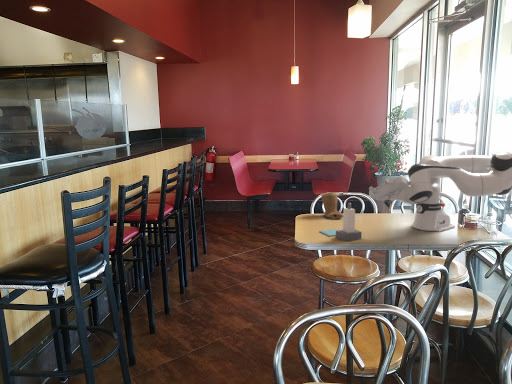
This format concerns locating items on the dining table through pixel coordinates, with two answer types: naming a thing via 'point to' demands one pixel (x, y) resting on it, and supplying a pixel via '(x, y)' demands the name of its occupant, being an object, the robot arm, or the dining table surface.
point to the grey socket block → (348, 235)
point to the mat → (329, 232)
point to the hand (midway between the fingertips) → (377, 184)
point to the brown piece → (331, 205)
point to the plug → (348, 219)
